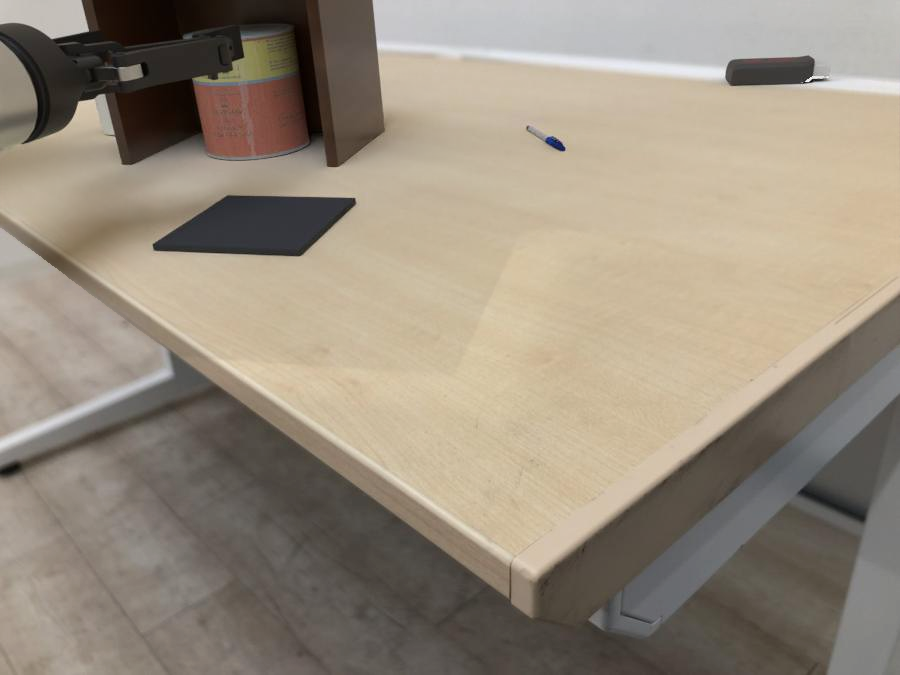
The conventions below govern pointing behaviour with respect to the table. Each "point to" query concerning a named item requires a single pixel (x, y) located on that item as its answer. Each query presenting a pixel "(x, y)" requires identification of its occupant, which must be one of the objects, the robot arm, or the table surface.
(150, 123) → the cubby
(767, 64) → the usb drive
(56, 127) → the robot arm
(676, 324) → the table surface
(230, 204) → the mat
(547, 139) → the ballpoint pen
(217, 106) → the canned food
